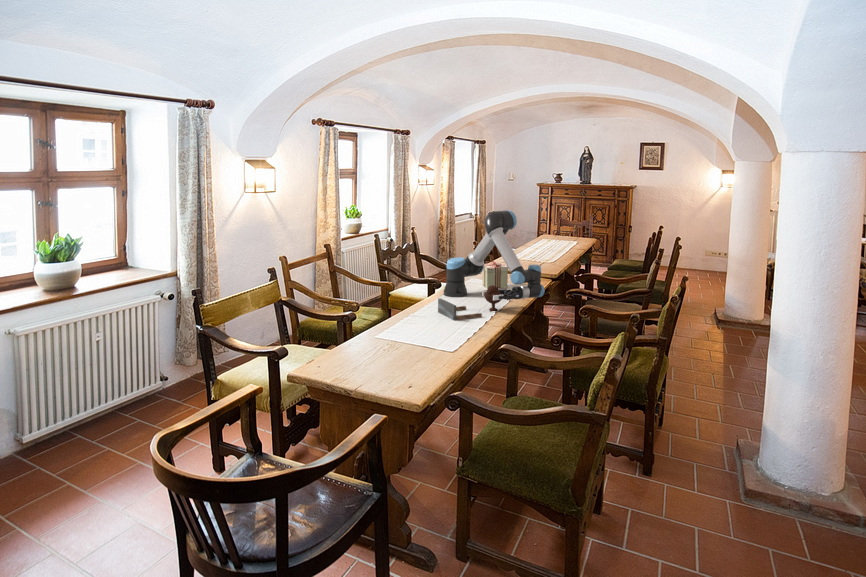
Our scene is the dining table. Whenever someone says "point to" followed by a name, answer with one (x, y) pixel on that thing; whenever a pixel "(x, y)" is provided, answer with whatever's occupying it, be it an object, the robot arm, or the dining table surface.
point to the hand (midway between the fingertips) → (487, 295)
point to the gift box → (495, 275)
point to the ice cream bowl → (489, 296)
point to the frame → (453, 310)
